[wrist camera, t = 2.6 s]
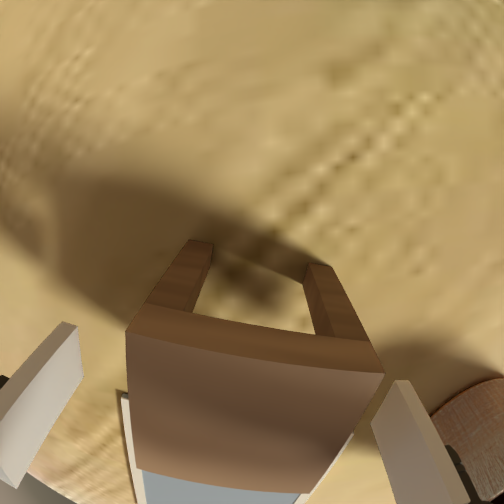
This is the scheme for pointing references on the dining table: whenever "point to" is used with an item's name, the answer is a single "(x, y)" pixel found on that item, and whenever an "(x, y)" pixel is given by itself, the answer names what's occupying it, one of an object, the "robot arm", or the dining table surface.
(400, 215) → the dining table surface
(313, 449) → the stool
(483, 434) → the planter
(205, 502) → the rug
